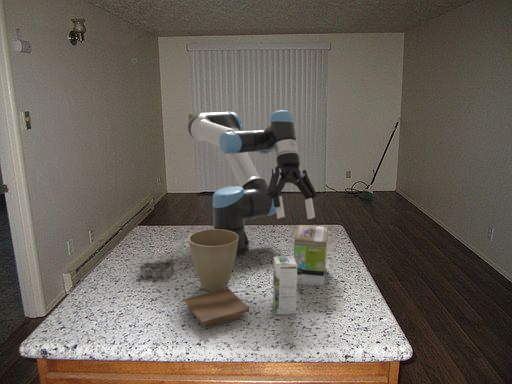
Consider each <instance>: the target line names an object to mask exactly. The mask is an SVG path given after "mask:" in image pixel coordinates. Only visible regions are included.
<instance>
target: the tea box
mask: <svg viewBox="0 0 512 384" xmlns="http://www.w3.org/2000/svg"><path fill="white" fill-rule="evenodd" d="M328 229H329V228H328V227H327V226H317V225H305V224H304V225H302V224H299V225H298V227H297V230H296V234H295V237H294V242H293V243H294V245H293V257H294V258H295V260H296V263H297V285H306V286H307V285H308V286H318V287H324V284H325V279H326V278H325V277H326V267H327V266H326V265H327V251H328Z"/></svg>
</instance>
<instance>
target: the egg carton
mask: <svg viewBox="0 0 512 384" xmlns="http://www.w3.org/2000/svg"><path fill="white" fill-rule="evenodd" d="M174 264H175V258H168V259H165V260H161V261H151V262H149V261H145V262H143V263H142V264H141V265H140V266H139V267H138V268H139V271H140V276H141V277H143V278H147V277H149V276H151V277H153V278H157V277H163V278H165V279H166V278H169V277H171V276H172V275H173V273H174V272H175V265H174Z"/></svg>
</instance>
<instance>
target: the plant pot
mask: <svg viewBox="0 0 512 384" xmlns="http://www.w3.org/2000/svg"><path fill="white" fill-rule="evenodd" d="M187 239H188V243H189V244H188V245H189V250H190V254H191V259H192V262H193V266H194V269H195V272H196V275H197V278H198V280H199V283H200V284H201V287H202V289H204V290H206V292H207V291H208V292H214V291H218V290H222V289H226V288H227V286H228V283H229V281H230V278H231V275H232V271H233V269H234V265H235V261H236V258H237V257H236V256H237V255H236V253H237V246H238V240H239V236H238V235H237V234H236V233H234V232H232V231H228V230H221V229H214V228H212V229H211V228H210V229H203V230H198V231H196V232H193V233H191V234H190V235H189V237H188V238H187Z"/></svg>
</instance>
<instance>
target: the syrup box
mask: <svg viewBox="0 0 512 384" xmlns="http://www.w3.org/2000/svg"><path fill="white" fill-rule="evenodd" d="M272 275H273V278H272V279H273V281H272V307H273V312H274V315H275V316H280V315H282V316H283V315H285V316H286V315H295V314H297V289H298V287H297V285H298V284H297V263H296V260H295V258H294V255H293V256H292V255H279V256H274V257H273V274H272Z"/></svg>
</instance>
